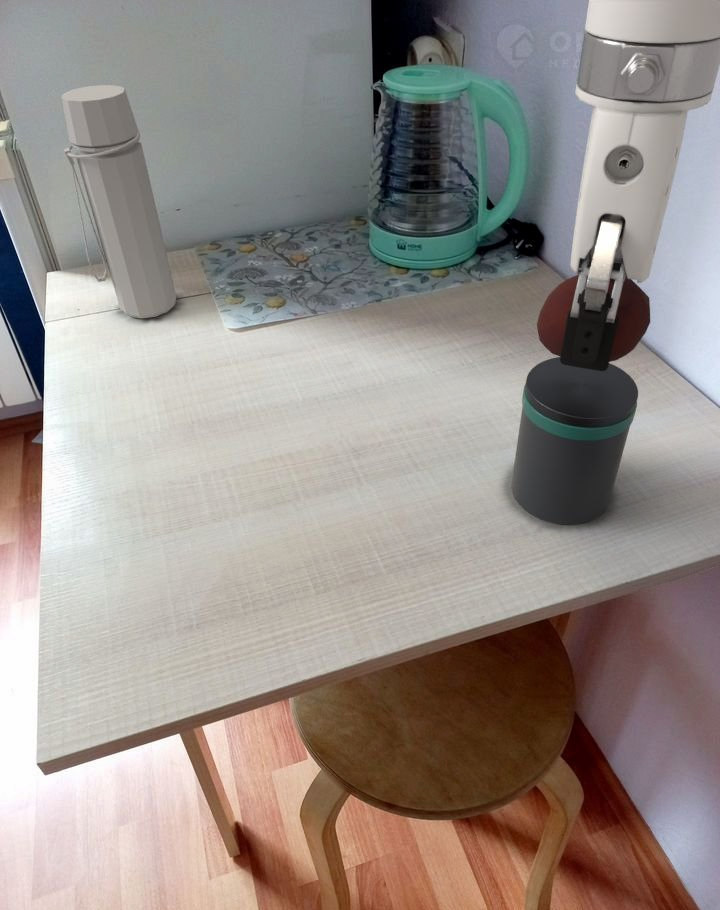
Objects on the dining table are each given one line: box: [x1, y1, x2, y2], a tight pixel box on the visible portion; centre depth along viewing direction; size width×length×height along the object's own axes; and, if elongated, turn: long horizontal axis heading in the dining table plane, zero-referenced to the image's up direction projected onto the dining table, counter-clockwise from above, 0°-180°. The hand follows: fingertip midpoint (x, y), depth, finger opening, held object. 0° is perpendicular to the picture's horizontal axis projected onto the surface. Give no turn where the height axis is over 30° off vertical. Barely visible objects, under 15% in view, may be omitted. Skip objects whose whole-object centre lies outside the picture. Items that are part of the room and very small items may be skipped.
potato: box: [536, 274, 651, 363], centre depth 51 cm, size 7×8×6 cm
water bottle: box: [61, 84, 177, 319], centre depth 82 cm, size 9×8×25 cm
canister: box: [511, 356, 639, 526], centre depth 58 cm, size 9×9×11 cm
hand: (592, 333), depth 52 cm, fingers closed on potato, 8 cm apart
